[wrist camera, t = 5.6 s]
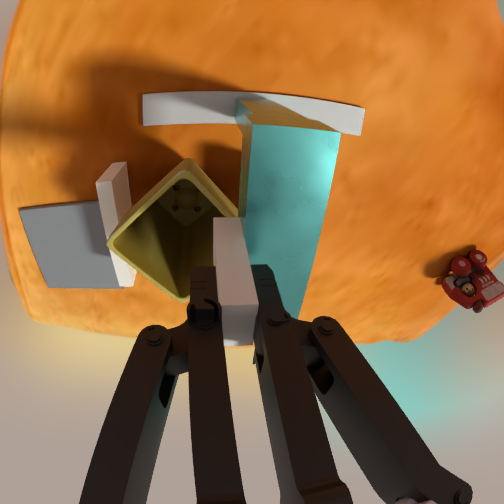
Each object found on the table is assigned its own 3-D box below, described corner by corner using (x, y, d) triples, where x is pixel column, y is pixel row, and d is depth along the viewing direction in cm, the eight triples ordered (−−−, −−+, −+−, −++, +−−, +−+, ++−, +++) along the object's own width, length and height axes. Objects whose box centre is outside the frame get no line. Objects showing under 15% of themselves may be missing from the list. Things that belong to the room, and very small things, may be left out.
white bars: (107, 98, 20) (87, 106, 16) (362, 107, 24) (389, 117, 20) (128, 257, 31) (119, 286, 27) (330, 251, 34) (345, 278, 31)
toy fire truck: (441, 261, 40) (475, 303, 32) (483, 245, 40) (514, 279, 32) (432, 289, 44) (460, 330, 36) (473, 271, 44) (501, 305, 36)
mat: (21, 208, 24) (19, 211, 24) (104, 199, 26) (103, 202, 26) (49, 284, 31) (48, 287, 31) (124, 285, 33) (123, 288, 33)
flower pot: (192, 136, 24) (185, 167, 17) (248, 199, 29) (264, 251, 22) (128, 193, 26) (103, 244, 19) (185, 246, 31) (181, 305, 24)
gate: (229, 97, 21) (252, 124, 11) (275, 99, 22) (340, 133, 11) (224, 228, 29) (237, 334, 19) (261, 228, 30) (294, 330, 19)
